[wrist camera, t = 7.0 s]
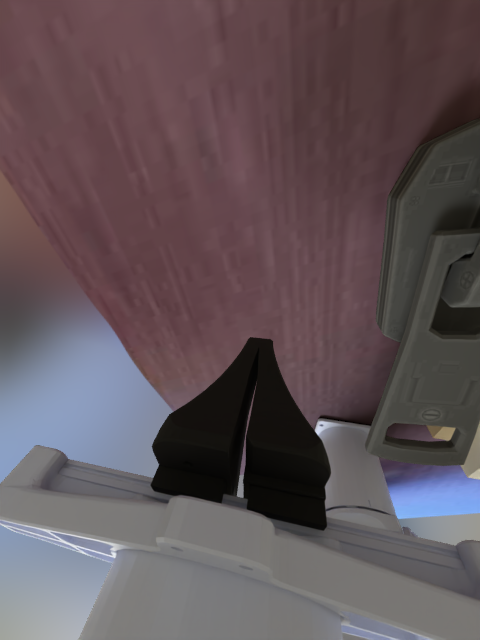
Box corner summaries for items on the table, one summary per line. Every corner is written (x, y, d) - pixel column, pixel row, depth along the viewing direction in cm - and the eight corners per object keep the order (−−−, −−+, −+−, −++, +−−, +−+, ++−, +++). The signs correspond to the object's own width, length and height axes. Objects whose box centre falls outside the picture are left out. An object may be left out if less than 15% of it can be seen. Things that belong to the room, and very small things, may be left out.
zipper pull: (358, 458, 21) (480, 106, 8) (344, 399, 27) (401, 131, 13) (470, 472, 19) (900, 32, 6) (431, 406, 25) (603, 98, 11)
